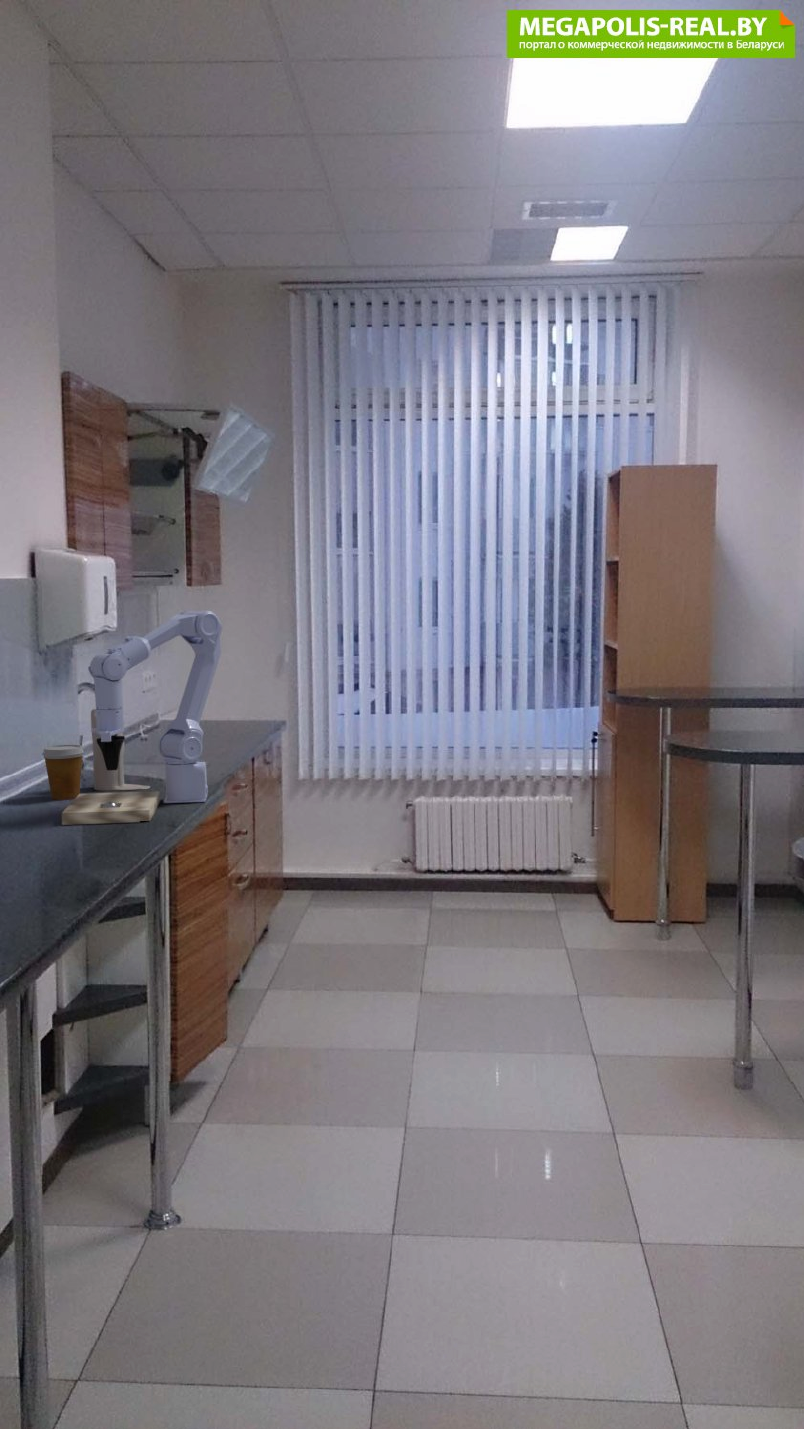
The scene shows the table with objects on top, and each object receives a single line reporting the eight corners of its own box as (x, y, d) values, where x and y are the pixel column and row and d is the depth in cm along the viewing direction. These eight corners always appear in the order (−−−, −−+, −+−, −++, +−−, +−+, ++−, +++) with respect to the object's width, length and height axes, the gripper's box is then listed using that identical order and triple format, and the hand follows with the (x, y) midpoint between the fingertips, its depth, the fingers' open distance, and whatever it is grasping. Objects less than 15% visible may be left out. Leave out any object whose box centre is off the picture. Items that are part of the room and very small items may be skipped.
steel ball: (120, 818, 245) (118, 810, 248) (118, 805, 243) (116, 797, 246) (104, 822, 244) (102, 813, 247) (102, 808, 242) (100, 800, 245)
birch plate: (160, 801, 262) (159, 791, 262) (149, 821, 240) (149, 809, 240) (80, 804, 260) (79, 793, 260) (62, 824, 238) (61, 813, 238)
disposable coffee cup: (92, 793, 274) (90, 744, 272) (77, 801, 264) (74, 750, 263) (54, 793, 275) (51, 744, 273) (37, 801, 265) (35, 750, 264)
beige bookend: (147, 790, 277) (143, 708, 274) (90, 791, 277) (86, 709, 275) (154, 785, 284) (150, 705, 282) (99, 785, 284) (95, 706, 282)
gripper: (95, 705, 255) (98, 765, 257) (85, 712, 241) (88, 776, 242) (127, 704, 256) (130, 764, 258) (119, 711, 242) (122, 774, 243)
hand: (112, 769), depth 250 cm, fingers closed
